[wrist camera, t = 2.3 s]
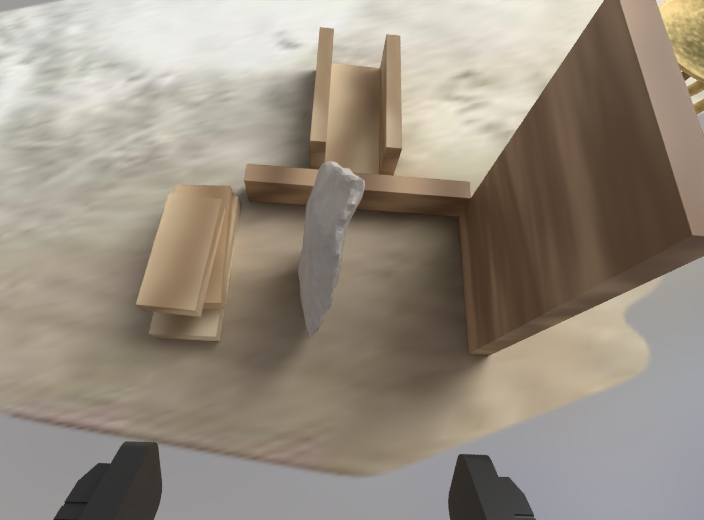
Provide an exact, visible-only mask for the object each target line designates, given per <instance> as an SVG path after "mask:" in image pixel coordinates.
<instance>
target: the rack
mask: <svg viewBox="0 0 704 520" xmlns="http://www.w3.org/2000/svg"><path fill="white" fill-rule="evenodd" d="M317 174H318V169H305V168H293V167H281V166H268V165H256V164H247V165H246V172H245V178H244V182H245V186H246V190H247V194H248V198H249V201H256V202H270V203H283V204H296V205H307V202H308V200H309V198H310V195H311V192H312V189H313V186H314V183H315V180H316V177H317ZM353 174H355V175H356V176H359V178H362V179H363V180H365V188H364V192H363V196H362V199H361V201H360V203H359V205H358V206H357V208H356V209H363V210H376V211H389V212H403V213H416V214H429V215H443V216H456V217H459V230H460V244H461V257H462V271H463V285H464V298H465V312H466V326H467V339H468V353H469V354H477V355H491V354H493V353H495V352H498V351H500V350H502V349H504V348H506V347H508V346H511V345H513V344H515V343H517V342H519V341H521V340H524V339H526V338H528V337H530V336H532V335H534V334H536V333H539V332H541V331H543V330H545V329H547V328H549V327H552V326H554V325H556V324H558V323H560V322H562V321H565V320H567V319H569V318H571V317H573V316H575V315H577V314H580V313H582V312H584V311H586V310H588V309H590V308H593V307H595V306H597V305H599V304H601V303H603V302H606V301H608V300H610V299H612V298H614V297H616V296H619V295H621V294H623V293H625V292H627V291H629V290H631V289H634V288H636V287H638V286H640V285H642V284H644V283H647V282H649V281H651V280H653V279H655V278H657V277H660V276H662V275H664V274H666V273H668V272H670V271H672V270H675V269H677V268H679V267H681V266H683V265H685V264H688V263H690V262H692V261H694V260H696V259H698V258H701V257H703V256H704V134H703V131H702V128H701V126H700V123H699V120H698V117H697V114H696V112H695V109H694V106H693V103H692V100H691V98H690V95H689V92H688V89H687V86H686V84H685V81H684V78H683V75H682V73H681V70H680V67H679V64H678V61H677V59H676V56H675V53H674V50H673V47H672V45H671V42H670V39H669V36H668V33H667V31H666V28H665V25H664V22H663V19H662V17H661V14H660V11H659V8H658V5H657V3H656V0H604V1H603V3H602V4H601V6H600V7H599V9H598V10H597V12H596V13H595V15H594V16H593V18H592V19H591V21H590V22H589V24H588V25H587V27H586V28H585V30H584V31H583V32H582V34H581V35H580V37H579V38H578V40H577V41H576V43H575V44H574V46H573V47H572V49H571V50H570V52H569V53H568V55H567V56H566V58H565V59H564V61H563V62H562V64H561V65H560V67H559V68H558V70H557V71H556V73H555V74H554V76H553V77H552V79H551V80H550V82H549V83H548V84H547V86H546V87H545V89H544V90H543V92H542V93H541V95H540V96H539V98H538V99H537V101H536V102H535V104H534V105H533V107H532V108H531V110H530V111H529V113H528V114H527V116H526V117H525V119H524V120H523V122H522V123H521V125H520V126H519V128H518V129H517V131H516V132H515V134H514V135H513V136H512V138H511V139H510V141H509V142H508V144H507V145H506V147H505V148H504V150H503V151H502V153H501V154H500V156H499V157H498V159H497V160H496V162H495V163H494V165H493V166H492V168H491V169H490V171H489V172H488V174H487V175H486V177H485V178H484V180H483V181H482V183H481V184H480V186H479V187H478V188H477V190H476V191H475V193H474V194H473V196H472V197H471V193H470V182H465V181H453V180H440V179H428V178H416V177H404V176H391V175H379V174H367V173H354V172H353Z"/></svg>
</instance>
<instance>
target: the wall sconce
mask: <svg viewBox="0 0 704 520" xmlns="http://www.w3.org/2000/svg"><path fill="white" fill-rule="evenodd" d="M659 11H660V14H661V17H662V19H663V22H664V25H665V28H666V31H667V33H668V36H669V39H670V42H671V45H672V47H673V50H674V53H675V56H676V59H677V61H678V64H679V67H680V69H681V70H682V71H683V72H681V73H682V75H683V78H684V81H685V80H687V79H688V78H689V77H693V78H694V79H696V80H698V81H696V82H695V83H693V84H691V85H689V86H687V89H688V92H689V95H690V97H691V96H693V95H695V94H697V93H699V92H701V91H703V90H704V0H667V1H665V2H664V3H662V4H661V6H660V7H659ZM693 106H694V109H695V112H696V114H698V113H700V112H702V111H704V99H703V100H701V101H699V102H697V103H696V104H694V105H693Z"/></svg>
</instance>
